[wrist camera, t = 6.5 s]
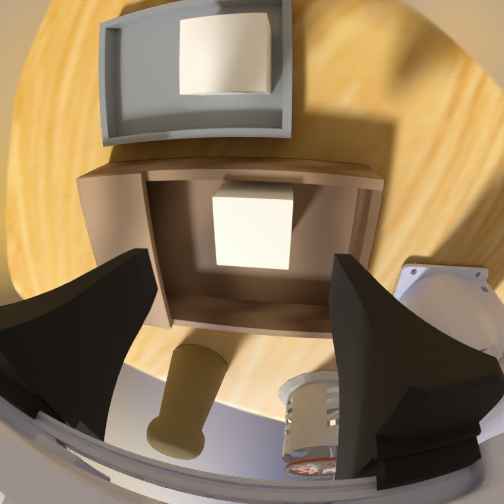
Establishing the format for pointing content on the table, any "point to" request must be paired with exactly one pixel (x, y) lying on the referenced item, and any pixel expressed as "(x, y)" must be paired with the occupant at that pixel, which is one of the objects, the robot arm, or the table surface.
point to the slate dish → (167, 78)
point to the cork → (187, 401)
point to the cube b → (253, 223)
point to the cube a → (225, 55)
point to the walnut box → (203, 238)
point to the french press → (311, 423)
